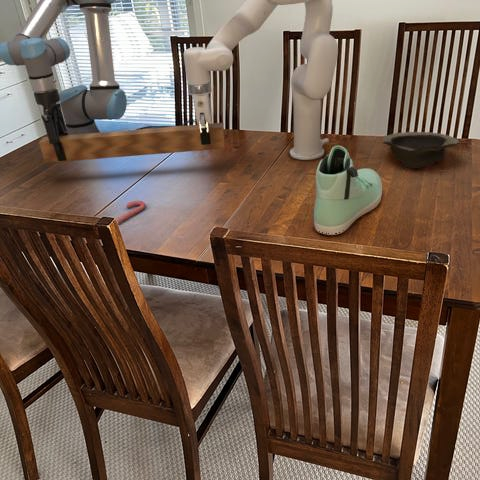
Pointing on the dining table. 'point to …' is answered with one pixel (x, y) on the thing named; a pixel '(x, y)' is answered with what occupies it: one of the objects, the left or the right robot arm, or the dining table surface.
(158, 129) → the post
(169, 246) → the dining table surface
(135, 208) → the candy cane
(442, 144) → the stone bowl
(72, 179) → the dining table surface
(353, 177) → the sneaker
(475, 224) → the dining table surface
